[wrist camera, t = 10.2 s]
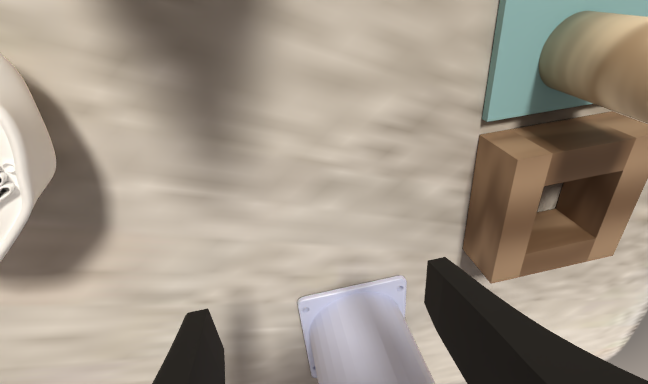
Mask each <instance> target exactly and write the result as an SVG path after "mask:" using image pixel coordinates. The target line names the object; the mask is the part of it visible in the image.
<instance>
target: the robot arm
mask: <svg viewBox="0 0 648 384" xmlns="http://www.w3.org/2000/svg"><path fill="white" fill-rule="evenodd" d="M406 284H407V282H406V279H405V277H404V276H401V275H399V276H394V277H390V278H385V279H381V280H376V281H371V282H367V283H362V284H358V285H353V286H349V287H344V288H340V289H335V290H331V291H326V292H322V293H317V294H312V295H308V296H303V297H301V298H300V299H299V300H298V302H297V303H298V309H299V314H300V319H301V324H302V329H303V335H304V340H305V345H306V350H307V355H308V360H309V365H310V370H311V376H312V377H314V378H317V379H318V384H435V382H434V380H433V378H432V375H431V373H430V371H429V369H428V367H427V365H426V363H425V361H424V359H423V357H422V355H421V352H420V350H419V348H418V346H417V344H416V342H415V340H414V338H413V336H412V334H411V332H410V329H409V327H408V325H407V323H406V321H405V308H406ZM399 286H400V287H399ZM424 303H425V305H426V308H427V310H428V313H429V315H430V317H431V319H432V322H433V324H434V326H435V328H436V330H437V332H438V334H439V336H440V338H441V339H442V341H443V343H444V345H445V346H446V348H447V350H448V351H449V353H450V355H451V357H452V358H453V360H454V362H455V363H456V365H457V367H458V368H459V370H460V372H461V374H462V375H463V377H464V379H465V380H466V382H467V384H648V381H647V380H644V379H642V378H640V377H638V376H635V375H633V374H631V373H629V372H627V371H625V370H623V369H620V368H618V367H616V366H614V365H612V364H610V363H608V362H606V361H604V360H602V359H600V358H598V357H596V356H594V355H592V354H590V353H589V352H587V351H585V350H583V349H581V348H579V347H577V346H575V345H574V344H572V343H570V342H568V341H567V340H565V339H563V338H561V337H560V336H558V335H556V334H554V333H553V332H551V331H549V330H548V329H546V328H544V327H543V326H541V325H539V324H538V323H536V322H535V321H533V320H532V319H530V318H528V317H527V316H525V315H524V314H522V313H521V312H519V311H518V310H516V309H515V308H513V307H512V306H510V305H509V304H508V303H506V302H505V301H503V300H502V299H501V298H499V297H498V296H496V295H495V294H493V293H492V292H491V291H489V290H488V289H487V288H485V287H484V286H483V285H481V284H480V283H479V282H477V281H476V280H475V279H473V278H472V277H471V276H469V275H468V274H467V273H465V272H464V271H463V270H462V269H460V268H459V267H458V266H456V265H455V264H454V263H452V262H451V261H450V260H448V259H447V258H446V257H443V258H438V259H434V260H429V261H428V265H427V277H426V289H425V301H424ZM305 307H307V308H305ZM152 384H225V361H224V348H223V345H222V343H221V340H220V338H219V335H218V332H217V330H216V327H215V325H214V322H213V320H212V317H211V315H210V312H209V310H208V309H204V310H199V311H194V312H190V313H187V315H186V316H185V318H184V320H183V322H182V325H181V327H180V329H179V331H178V333H177V336H176V338H175V340H174V342H173V344H172V346H171V348H170V350H169V352H168V354H167V356H166V358H165V360H164V362H163V364H162V366H161V368H160V370H159V372H158V374H157V376H156V378H155V379H154V381H153V383H152Z"/></svg>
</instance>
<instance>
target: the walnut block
mask: <svg viewBox="0 0 648 384" xmlns="http://www.w3.org/2000/svg"><path fill="white" fill-rule="evenodd" d="M647 179H648V124H646V123H643V122H640V121H637V120H635V119H632V118H629V117H626V116H624V115H621V114H618V113H615V112H613V111H612V112H606V113H601V114H595V115H589V116H584V117H578V118H572V119H567V120H561V121H555V122H550V123H544V124H538V125H533V126H527V127H521V128H516V129H510V130H504V131H499V132H493V133H487V134H482V135H480V136H479V143H478V150H477V156H476V163H475V170H474V177H473V183H472V190H471V197H470V203H469V210H468V217H467V223H466V230H465V237H464V243H463V250H464V251H465V252H466V254H467V255H468V256H469V257H470V259H471V260H472V261H473V262H474V264H475V265H476V266H477V267H478V268H479V270H480V271H481V272H482V273H483V275H484V276H485V277H486V278H487V279H488V281H489V282H490V283H495V282H500V281H504V280H508V279H513V278H517V277H521V276H526V275H530V274H535V273H539V272H543V271H548V270H552V269H556V268H561V267H565V266H569V265H574V264H578V263H582V262H587V261H591V260H595V259H600V258H604V257H608V256H613V254H614V252H615V250H616V248H617V245H618V243H619V241H620V239H621V236H622V234H623V232H624V230H625V227H626V225H627V223H628V221H629V219H630V216H631V214H632V212H633V210H634V207H635V205H636V203H637V201H638V199H639V196H640V194H641V192H642V190H643V187H644V185H645V183H646V181H647ZM562 182H564V183H563V186H562V190H561V193H560V196H559V199H558V203H557V206H556V209H552V210H547V211H542V212H537V209H538V206H539V202H540V199H541V195H542V191H543V188H544V186H547V185H552V184H557V183H562Z"/></svg>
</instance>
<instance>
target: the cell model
mask: <svg viewBox="0 0 648 384" xmlns="http://www.w3.org/2000/svg"><path fill="white" fill-rule="evenodd" d="M55 170H56V156H55V151H54V147H53V144H52V141H51V138H50V136H49V133H48V131H47V128H46V126H45V123H44V121H43V119H42V117H41V115H40V112H39V110H38V108H37V106H36V104H35V101H34V99H33V97H32V95H31V93H30V91H29V89H28V87H27V85H26V83H25V81H24V79H23V78H22V76H21V75H20V73H19V72H18V70H17V69H16V68H15V67H14V66H13V65H12V63H11V62H10V61H9V60H8V59H7V58H6V57H4V56H3V55H2V54H1V53H0V262H1V261H2V259H3V258H4V257H5V255H6V254H7V253H8V251H9V250H10V248H11V247H12V245H13V244H14V242H15V241H16V239H17V237H18V236H19V234H20V233H21V231H22V229H23V228H24V226H25V224H26V223H27V221H28V219H29V217H30V214H31V211H32V209H33V207H34V205H35V203H36V201H37V199H38V198H39V196H40V195H41V193H42V192H43V191H44V189H45V188H46V186H47V185H48V183H49V182H50V180H51V179H52V177H53V175H54V173H55Z"/></svg>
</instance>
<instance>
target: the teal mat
mask: <svg viewBox="0 0 648 384" xmlns="http://www.w3.org/2000/svg"><path fill="white" fill-rule="evenodd" d="M582 11H596V12H606V13H616V14H625V15H635V16H645V17H648V0H500V3H499V9H498V16H497V23H496V29H495V36H494V43H493V49H492V56H491V63H490V69H489V76H488V83H487V90H486V96H485V103H484V110H483V116H482V119H483V120H485V121H487V122H489V121H495V120H501V119H506V118H512V117H518V116H524V115H530V114H536V113H541V112H547V111H553V110H559V109H565V108H570V107H576V106H582V105H588V104H593V103H590V102H588V101H585V100H582V99H579V98H577V97H574V96H571V95H568V94H566V93H563V92H560V91H557V90H555V89H552V88H550V87H548V86H546V85H545V84H544V83H543V81H542V79H541V77H540V74H539V59H540V55H541V51H542V49H543V46H544V44H545V42H546V40H547V39H548V37H549V36H550V34H551V33H552V32H553V30H554V29H555V28H556V27H557V26H558V25H559V24H560V23H561V22H562V21H564V20H565V19H566V18H568V17H569V16H571V15H573V14H575V13H578V12H582Z"/></svg>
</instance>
